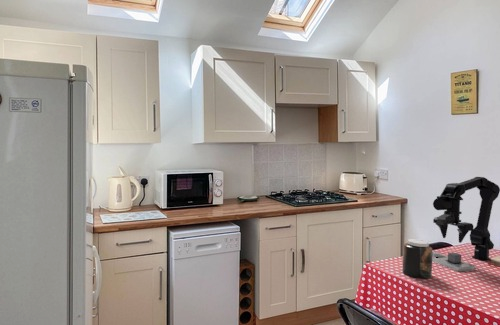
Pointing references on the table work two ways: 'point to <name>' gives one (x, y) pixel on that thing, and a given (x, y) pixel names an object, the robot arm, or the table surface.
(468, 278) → the table surface
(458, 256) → the dark grey block
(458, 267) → the metal plate with holes
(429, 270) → the jar
